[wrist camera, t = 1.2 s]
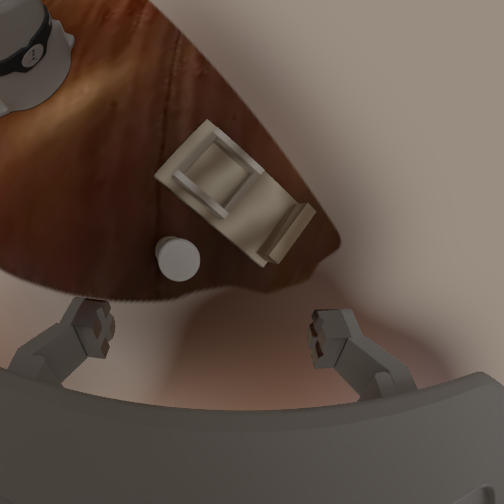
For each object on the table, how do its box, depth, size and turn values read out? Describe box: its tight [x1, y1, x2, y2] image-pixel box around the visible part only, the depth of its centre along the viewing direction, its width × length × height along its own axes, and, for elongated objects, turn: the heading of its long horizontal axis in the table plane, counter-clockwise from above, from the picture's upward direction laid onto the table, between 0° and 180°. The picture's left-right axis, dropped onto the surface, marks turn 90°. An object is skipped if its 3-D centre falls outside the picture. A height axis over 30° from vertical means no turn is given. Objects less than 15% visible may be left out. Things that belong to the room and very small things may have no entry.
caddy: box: [154, 119, 316, 267], centre depth 42 cm, size 22×12×6 cm, turn 50°
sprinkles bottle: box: [155, 236, 200, 281], centre depth 36 cm, size 5×5×13 cm
